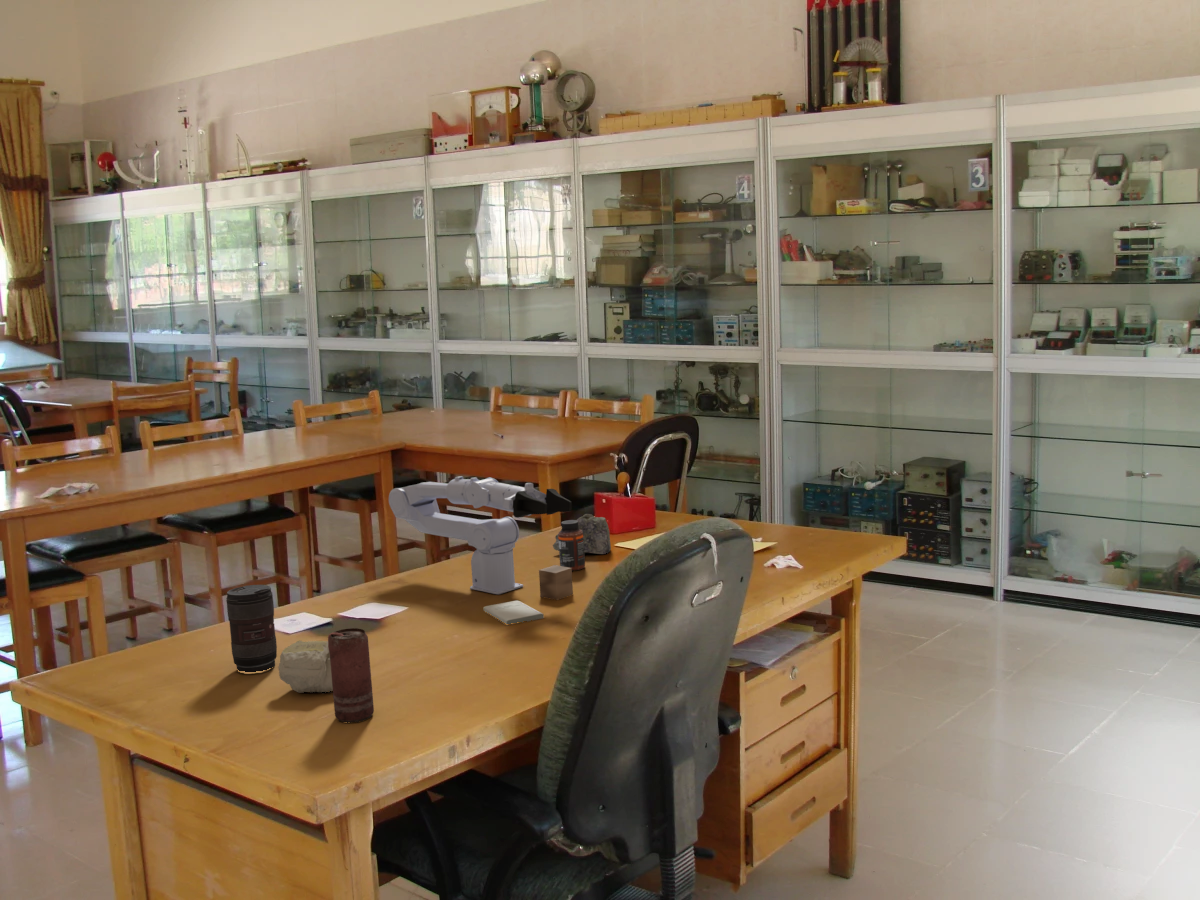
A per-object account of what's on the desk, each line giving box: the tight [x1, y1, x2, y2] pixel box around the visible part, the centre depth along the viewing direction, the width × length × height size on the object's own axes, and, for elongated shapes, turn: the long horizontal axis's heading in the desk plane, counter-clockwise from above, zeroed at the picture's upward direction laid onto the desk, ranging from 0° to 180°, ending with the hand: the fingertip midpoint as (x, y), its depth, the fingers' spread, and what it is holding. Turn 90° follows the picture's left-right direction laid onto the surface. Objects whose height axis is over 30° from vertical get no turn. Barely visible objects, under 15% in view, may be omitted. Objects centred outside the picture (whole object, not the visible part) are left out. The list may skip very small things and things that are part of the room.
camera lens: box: [225, 584, 278, 672], centre depth 210 cm, size 8×8×15 cm
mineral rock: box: [552, 513, 612, 555], centre depth 286 cm, size 13×11×10 cm
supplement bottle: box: [557, 519, 586, 572], centre depth 271 cm, size 6×6×11 cm
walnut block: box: [538, 564, 574, 601], centre depth 249 cm, size 5×5×6 cm
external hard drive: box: [483, 600, 545, 624], centre depth 237 cm, size 2×8×12 cm
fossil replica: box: [277, 640, 333, 694], centre depth 198 cm, size 12×8×10 cm
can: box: [327, 627, 375, 724], centre depth 184 cm, size 6×6×14 cm
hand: (558, 507), depth 242 cm, fingers open, 7 cm apart
